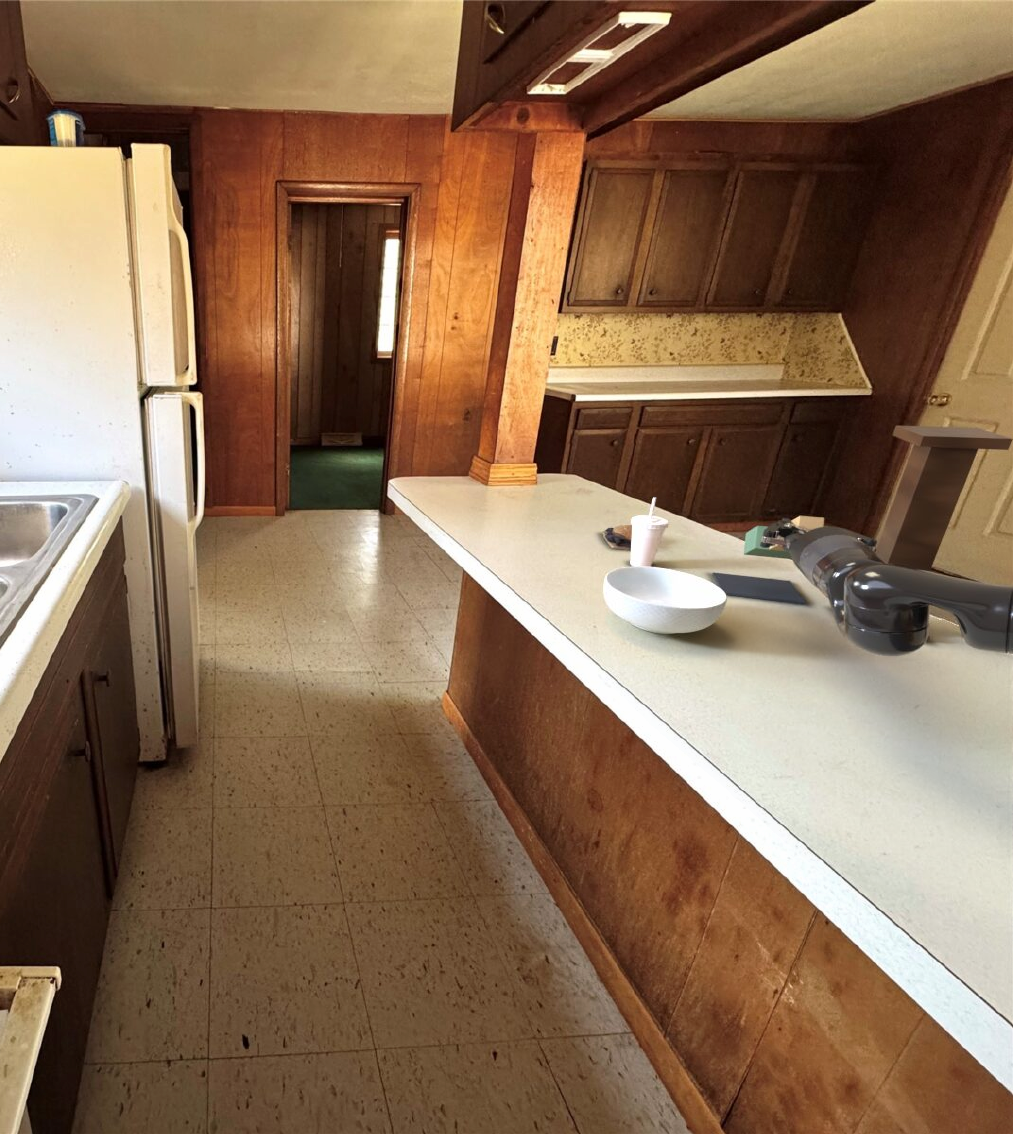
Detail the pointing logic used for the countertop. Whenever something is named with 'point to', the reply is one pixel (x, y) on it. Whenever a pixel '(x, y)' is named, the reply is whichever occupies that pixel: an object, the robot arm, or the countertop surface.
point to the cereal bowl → (663, 599)
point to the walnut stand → (930, 490)
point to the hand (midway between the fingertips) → (797, 525)
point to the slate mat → (758, 588)
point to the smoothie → (646, 537)
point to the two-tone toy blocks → (775, 551)
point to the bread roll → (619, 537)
